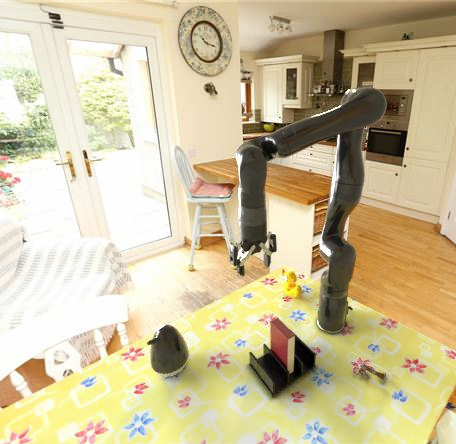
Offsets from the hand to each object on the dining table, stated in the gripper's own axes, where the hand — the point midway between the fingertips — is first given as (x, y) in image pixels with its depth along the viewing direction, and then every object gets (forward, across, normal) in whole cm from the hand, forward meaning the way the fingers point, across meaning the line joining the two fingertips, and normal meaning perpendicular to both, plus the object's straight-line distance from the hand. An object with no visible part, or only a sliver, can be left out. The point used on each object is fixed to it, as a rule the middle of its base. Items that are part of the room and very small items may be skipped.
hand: (254, 270), depth 85 cm
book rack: (+26, 0, -14) cm, 30 cm away
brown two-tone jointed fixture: (+26, +18, -32) cm, 45 cm away
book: (+25, 0, -14) cm, 29 cm away
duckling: (+26, +23, +11) cm, 37 cm away
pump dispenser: (+26, -26, +5) cm, 37 cm away
